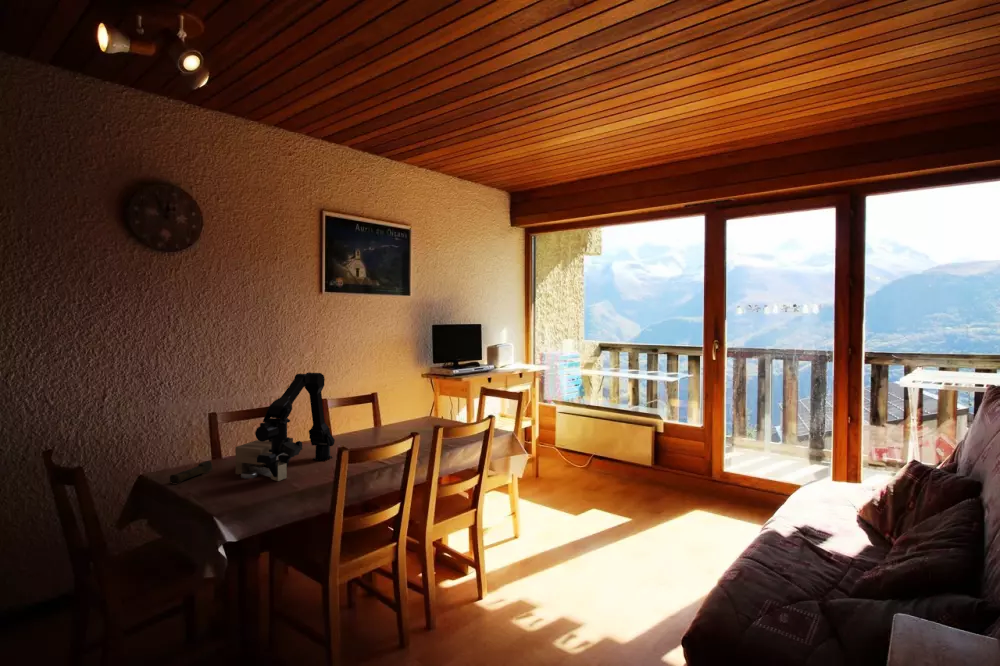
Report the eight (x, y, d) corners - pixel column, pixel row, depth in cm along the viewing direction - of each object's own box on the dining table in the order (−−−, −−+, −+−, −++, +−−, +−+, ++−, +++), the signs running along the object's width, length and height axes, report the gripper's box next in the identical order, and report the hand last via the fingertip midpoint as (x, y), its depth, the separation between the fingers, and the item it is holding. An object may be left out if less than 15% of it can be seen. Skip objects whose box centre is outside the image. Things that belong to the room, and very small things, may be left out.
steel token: (249, 473, 217) (249, 470, 217) (260, 475, 215) (260, 471, 215) (237, 478, 212) (237, 474, 212) (248, 480, 210) (248, 476, 210)
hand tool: (177, 485, 202) (177, 473, 202) (169, 484, 204) (169, 472, 203) (217, 471, 221) (217, 460, 220) (209, 470, 222) (209, 459, 222)
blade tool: (255, 469, 221) (255, 454, 220) (286, 478, 211) (286, 463, 211) (246, 471, 217) (246, 457, 217) (278, 481, 208) (277, 466, 207)
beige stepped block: (269, 460, 236) (269, 435, 235) (293, 463, 232) (293, 438, 232) (235, 474, 216) (235, 447, 216) (260, 477, 213) (260, 449, 213)
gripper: (280, 442, 198) (281, 484, 199) (311, 432, 216) (311, 470, 217) (255, 440, 201) (255, 481, 202) (288, 430, 219) (288, 467, 220)
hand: (279, 475), depth 210 cm, fingers closed on blade tool, 4 cm apart
